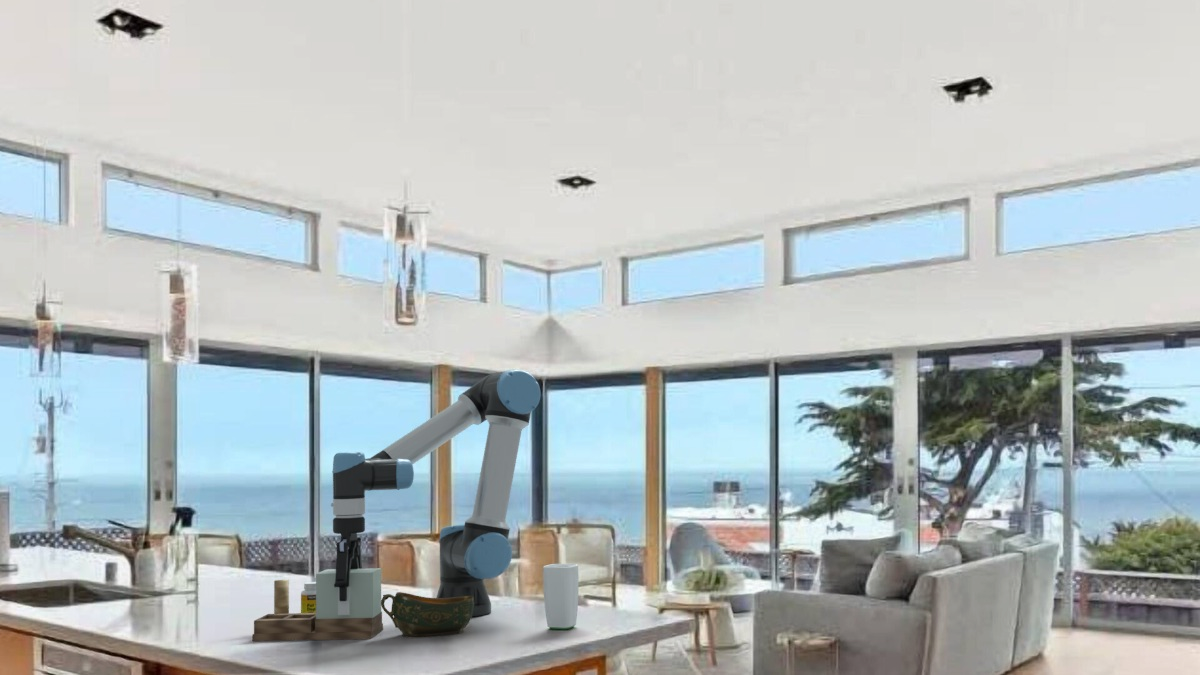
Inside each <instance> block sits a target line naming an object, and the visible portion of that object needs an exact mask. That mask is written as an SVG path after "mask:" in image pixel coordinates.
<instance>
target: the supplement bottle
mask: <svg viewBox="0 0 1200 675" xmlns="http://www.w3.org/2000/svg"><path fill="white" fill-rule="evenodd" d="M303 589H304V590H302V591H301V592H300V613H316V581H309V582H304V584H303Z"/></svg>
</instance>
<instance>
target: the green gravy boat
mask: <svg viewBox="0 0 1200 675" xmlns="http://www.w3.org/2000/svg"><path fill="white" fill-rule="evenodd" d="M389 598H391V599H392V602H391V611H390V610H388V609H387V608H386V605H385V601H386V600H388V599H389ZM381 609H382V610H383V611H384V613H385V614H386V615H388V616H389V618H390V619H391V620H392V622H393V624H394V627H395V628H396V629H398V630H399V631H400V633H401V634H402V637H404V638H405V637H406V638H428V637H429V638H430V637H431V638H432V637H442V636H451V635H456V634H462V633H464V630H465V628H466V627H467V626H468V624H469V623H470V621H471V619H472V617H473V616H472V614H473V610H474V596H460V597H452V598H436V597H426V596H421V595H415V594H412V593H408V592H407V593H406V592H401V591H400V592H399V591H397V592H396V593H395V596H394V595H393V594H390V593H387V594H383V595H382V597H381Z"/></svg>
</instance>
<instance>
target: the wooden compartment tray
mask: <svg viewBox="0 0 1200 675" xmlns="http://www.w3.org/2000/svg"><path fill="white" fill-rule="evenodd" d="M383 630H384V623H383V611H381V613H379V614H378V615H376V616H375V617H373V618H339V619H316V613H301V612H300V613H297V612H296V613H294V612H293V613H289V614H274V613H268V614H265V615H263V616H261V617H258V618H257V619H255V620H253V634H252V642H271V641H272V642H273V641H277V642H278V641H279V642H280V641H315V640H319V641H320V640H321V641H322V640H324V641H325V640H328V641H329V640H365V639H366V640H367V639H369V640H370V639H371V638H372V639H373V638H374V637H375V636H377V635H378V634H379V633H381V632H382V631H383Z"/></svg>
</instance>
